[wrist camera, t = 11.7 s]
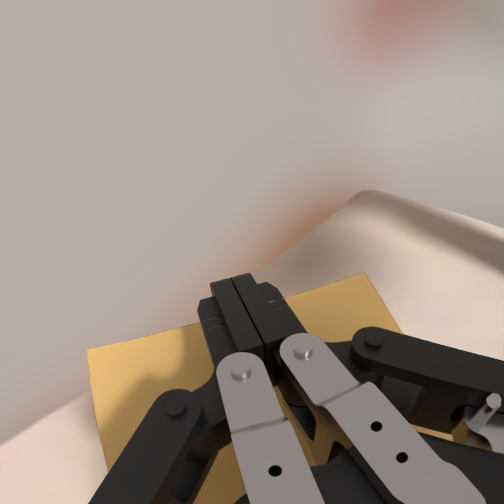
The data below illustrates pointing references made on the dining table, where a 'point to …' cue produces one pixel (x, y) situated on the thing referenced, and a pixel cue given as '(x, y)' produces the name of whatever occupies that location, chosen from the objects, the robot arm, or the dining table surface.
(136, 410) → the yellow plate
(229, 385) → the robot arm
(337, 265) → the dining table surface
